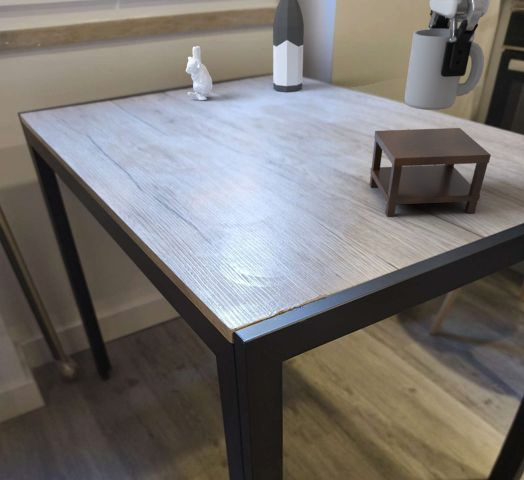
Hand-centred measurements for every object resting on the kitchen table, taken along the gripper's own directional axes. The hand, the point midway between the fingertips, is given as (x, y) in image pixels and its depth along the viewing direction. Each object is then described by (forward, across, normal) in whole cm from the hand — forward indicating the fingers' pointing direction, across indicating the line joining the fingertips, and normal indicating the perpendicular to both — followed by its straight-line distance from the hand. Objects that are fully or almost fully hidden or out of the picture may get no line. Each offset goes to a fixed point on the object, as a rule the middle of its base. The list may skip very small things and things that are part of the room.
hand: (443, 68), depth 72 cm
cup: (+5, 0, 0) cm, 5 cm away
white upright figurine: (+19, +69, +39) cm, 82 cm away
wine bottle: (+19, +77, +15) cm, 81 cm away
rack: (+19, 0, 0) cm, 19 cm away
